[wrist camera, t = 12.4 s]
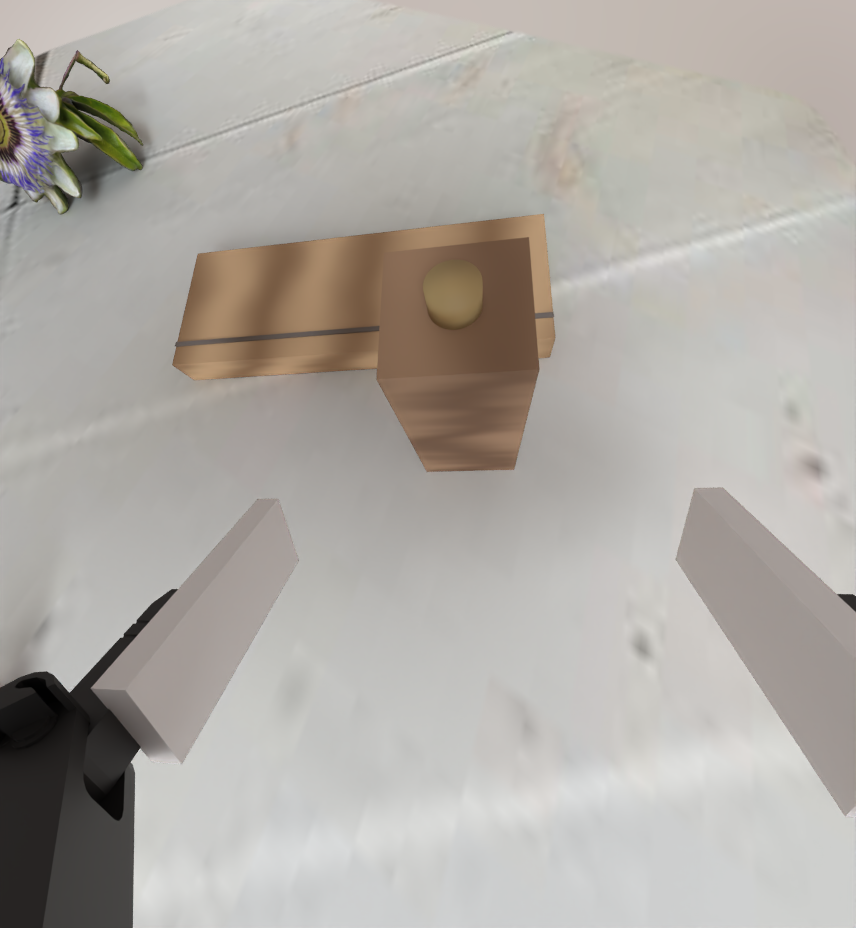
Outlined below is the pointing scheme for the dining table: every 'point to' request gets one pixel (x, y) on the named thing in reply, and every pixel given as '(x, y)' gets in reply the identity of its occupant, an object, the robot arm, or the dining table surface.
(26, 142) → the passion flower
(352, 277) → the board
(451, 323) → the block
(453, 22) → the dining table surface
